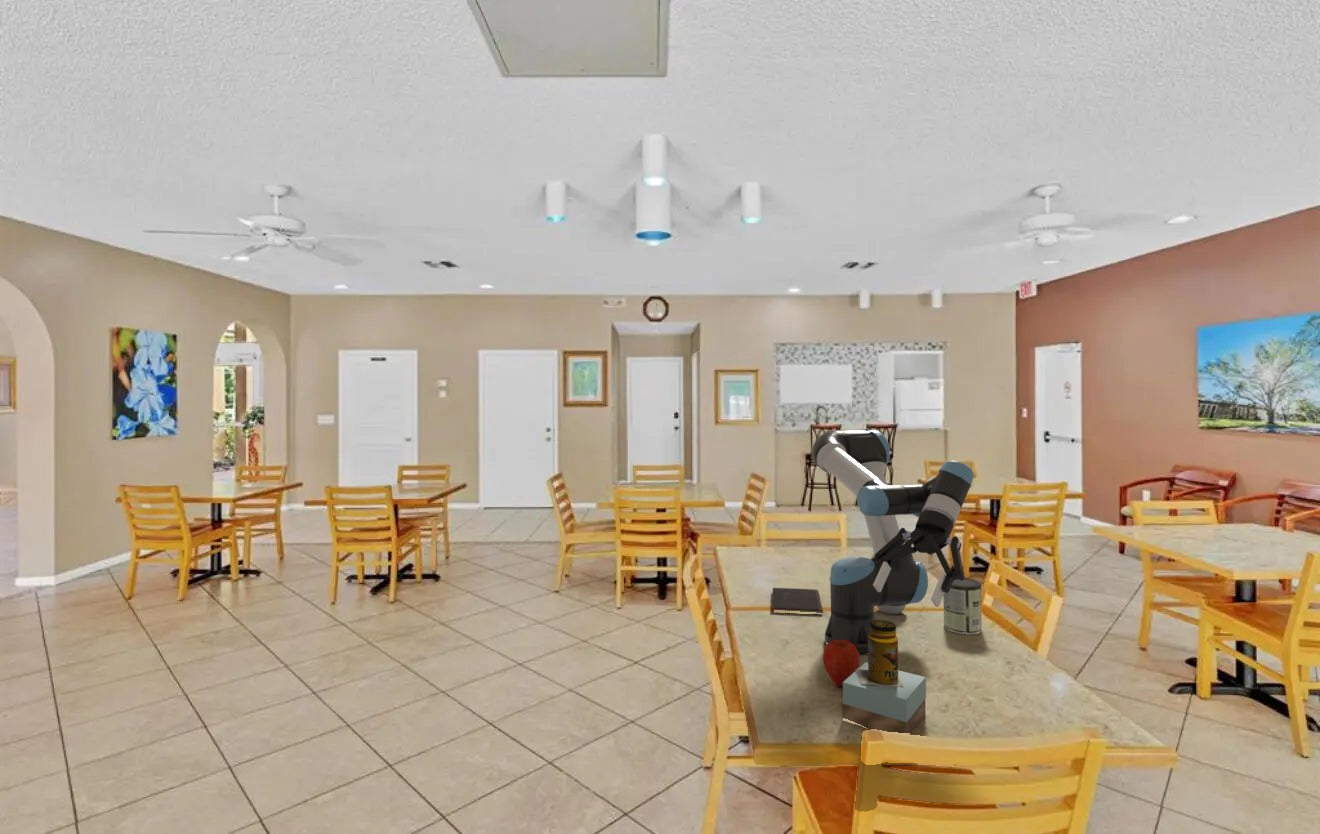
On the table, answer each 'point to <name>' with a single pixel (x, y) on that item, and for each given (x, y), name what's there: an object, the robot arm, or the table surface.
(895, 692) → the tower top
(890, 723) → the tower base
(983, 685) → the table surface
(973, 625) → the coffee can
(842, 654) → the apple
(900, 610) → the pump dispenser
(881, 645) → the condiment
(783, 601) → the hardcover book
